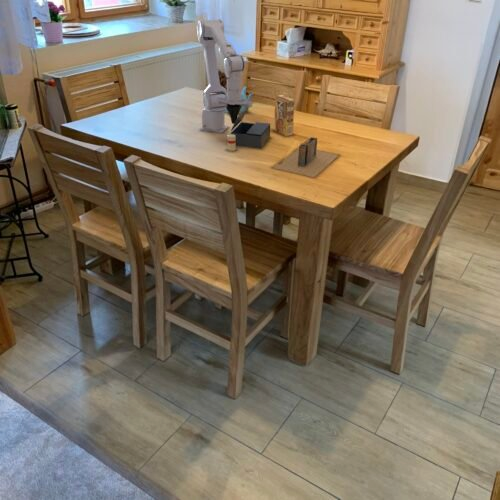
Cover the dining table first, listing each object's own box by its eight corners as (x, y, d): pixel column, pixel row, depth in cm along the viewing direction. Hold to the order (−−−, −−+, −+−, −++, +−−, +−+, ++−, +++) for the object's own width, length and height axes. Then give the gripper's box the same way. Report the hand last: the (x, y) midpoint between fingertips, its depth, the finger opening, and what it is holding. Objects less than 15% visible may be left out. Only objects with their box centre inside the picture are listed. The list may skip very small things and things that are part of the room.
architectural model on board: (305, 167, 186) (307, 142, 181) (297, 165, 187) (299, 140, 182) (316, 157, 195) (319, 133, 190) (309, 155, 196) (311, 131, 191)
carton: (230, 145, 204) (230, 131, 201) (241, 134, 216) (241, 120, 213) (261, 149, 201) (261, 134, 198) (270, 137, 213) (270, 123, 210)
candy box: (293, 135, 216) (295, 99, 208) (285, 136, 214) (287, 100, 206) (281, 129, 223) (282, 94, 214) (273, 130, 221) (274, 95, 212)
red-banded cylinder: (226, 151, 199) (226, 136, 196) (228, 148, 202) (228, 133, 198) (234, 152, 198) (234, 137, 195) (236, 149, 201) (236, 134, 198)
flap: (231, 131, 201) (230, 131, 201) (241, 120, 213) (241, 120, 213) (237, 118, 197) (236, 117, 197) (248, 108, 209) (247, 107, 209)
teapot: (223, 116, 237) (223, 94, 232) (217, 107, 249) (217, 86, 244) (253, 114, 240) (254, 93, 235) (245, 105, 253) (246, 85, 247)
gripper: (213, 89, 193) (213, 124, 201) (249, 93, 190) (248, 128, 197) (219, 85, 199) (219, 119, 206) (254, 88, 196) (253, 122, 203)
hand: (234, 123), depth 202 cm, fingers closed
